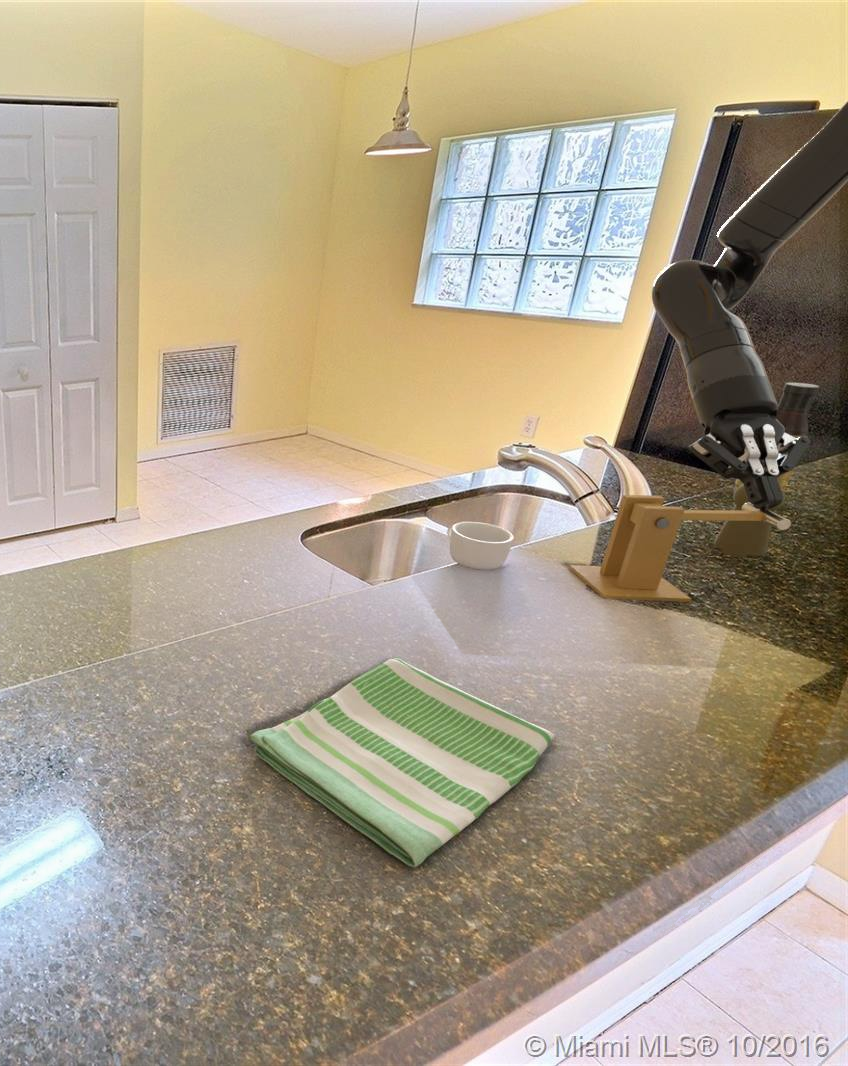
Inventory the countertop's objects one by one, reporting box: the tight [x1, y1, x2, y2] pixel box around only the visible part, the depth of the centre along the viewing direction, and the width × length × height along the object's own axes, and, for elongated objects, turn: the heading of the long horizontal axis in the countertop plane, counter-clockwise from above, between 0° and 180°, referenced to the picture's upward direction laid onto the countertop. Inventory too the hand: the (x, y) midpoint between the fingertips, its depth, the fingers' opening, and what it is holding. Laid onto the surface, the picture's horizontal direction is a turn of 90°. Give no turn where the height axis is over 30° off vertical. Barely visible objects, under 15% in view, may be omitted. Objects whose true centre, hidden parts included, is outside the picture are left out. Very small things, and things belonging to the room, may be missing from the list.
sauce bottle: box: [732, 382, 820, 494], centre depth 120 cm, size 7×6×20 cm
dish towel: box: [249, 657, 555, 868], centre depth 67 cm, size 18×23×3 cm
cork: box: [712, 484, 786, 560], centre depth 101 cm, size 6×6×11 cm
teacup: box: [446, 521, 515, 571], centre depth 103 cm, size 10×8×5 cm
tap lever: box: [630, 502, 792, 531], centre depth 90 cm, size 15×6×2 cm, turn 80°
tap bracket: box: [568, 494, 692, 603], centre depth 93 cm, size 10×9×13 cm
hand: (768, 506), depth 88 cm, fingers closed
